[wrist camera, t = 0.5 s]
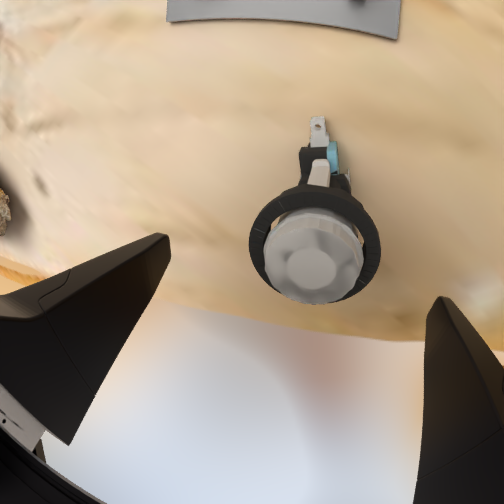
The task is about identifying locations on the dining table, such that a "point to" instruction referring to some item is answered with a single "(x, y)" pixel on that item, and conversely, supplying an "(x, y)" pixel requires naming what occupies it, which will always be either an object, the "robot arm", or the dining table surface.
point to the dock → (297, 12)
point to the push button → (316, 231)
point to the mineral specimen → (4, 212)
